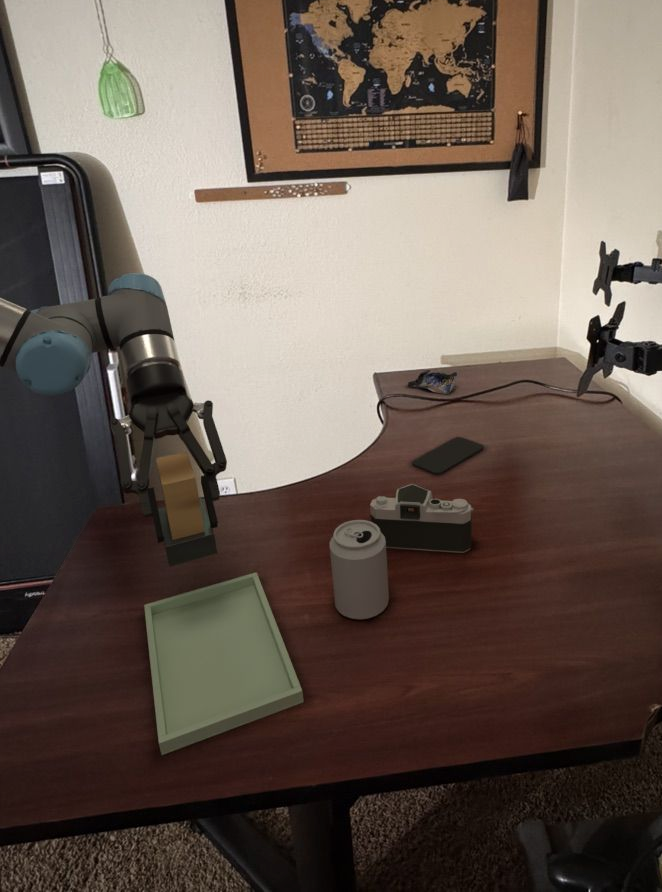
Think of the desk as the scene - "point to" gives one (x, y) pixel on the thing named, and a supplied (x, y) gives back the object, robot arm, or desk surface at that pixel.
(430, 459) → the phone
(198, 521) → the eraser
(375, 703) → the desk surface
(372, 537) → the can
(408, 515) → the camera
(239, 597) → the tray
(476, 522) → the desk surface
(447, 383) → the snack package
